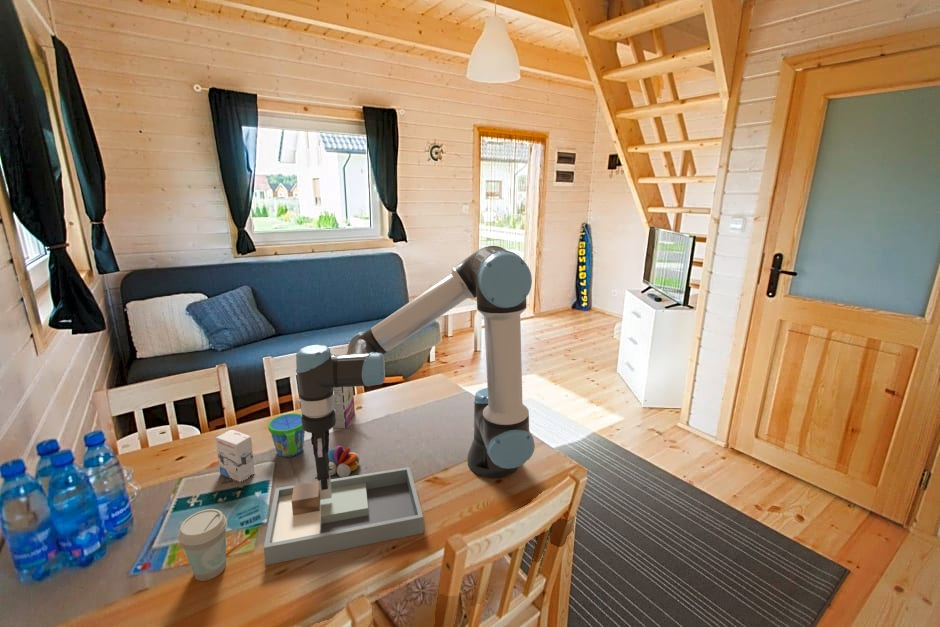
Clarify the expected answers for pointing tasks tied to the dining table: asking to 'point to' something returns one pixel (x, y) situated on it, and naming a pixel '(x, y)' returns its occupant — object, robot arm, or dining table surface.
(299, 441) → the snack cup
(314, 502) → the walnut block
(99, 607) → the dining table surface
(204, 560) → the coffee cup
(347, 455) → the rainbow wheeled toy
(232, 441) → the ink box
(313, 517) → the box
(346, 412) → the candy bar box
